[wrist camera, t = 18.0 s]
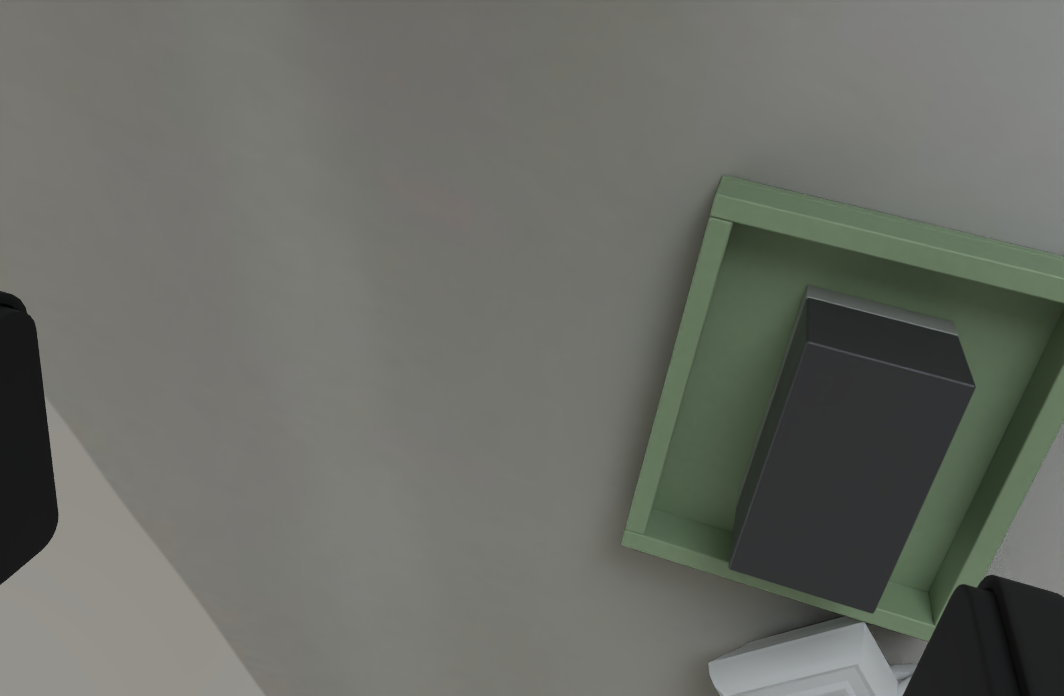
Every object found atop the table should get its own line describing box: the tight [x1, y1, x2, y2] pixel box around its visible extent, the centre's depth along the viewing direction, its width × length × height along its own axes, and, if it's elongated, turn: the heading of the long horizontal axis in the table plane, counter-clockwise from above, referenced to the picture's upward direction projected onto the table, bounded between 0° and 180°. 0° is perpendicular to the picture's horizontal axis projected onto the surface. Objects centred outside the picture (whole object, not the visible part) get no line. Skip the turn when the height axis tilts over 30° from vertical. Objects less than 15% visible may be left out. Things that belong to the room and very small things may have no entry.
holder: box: [621, 175, 1064, 642], centre depth 33 cm, size 15×13×3 cm
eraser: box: [728, 285, 976, 614], centre depth 31 cm, size 9×5×5 cm, turn 170°
